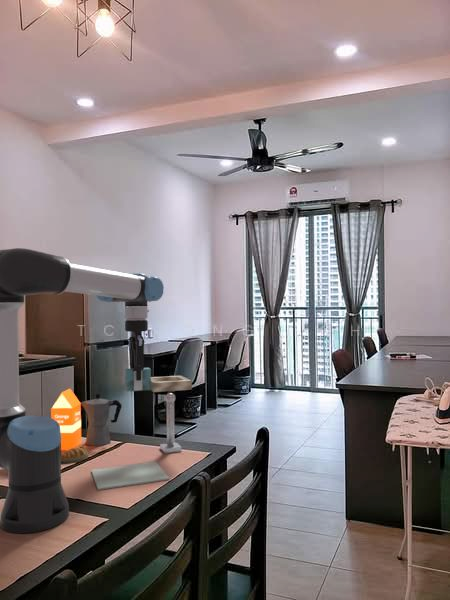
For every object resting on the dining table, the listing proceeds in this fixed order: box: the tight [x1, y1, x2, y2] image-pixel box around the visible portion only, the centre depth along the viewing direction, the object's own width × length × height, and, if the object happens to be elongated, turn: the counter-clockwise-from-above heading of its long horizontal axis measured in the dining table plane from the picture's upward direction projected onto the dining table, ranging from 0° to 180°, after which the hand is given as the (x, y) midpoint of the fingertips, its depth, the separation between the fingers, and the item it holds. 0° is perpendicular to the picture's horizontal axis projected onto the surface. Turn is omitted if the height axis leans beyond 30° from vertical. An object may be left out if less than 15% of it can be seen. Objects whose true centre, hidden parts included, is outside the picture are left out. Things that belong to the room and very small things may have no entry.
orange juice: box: [50, 388, 82, 451], centre depth 174 cm, size 8×9×20 cm
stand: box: [159, 392, 183, 454], centre depth 169 cm, size 6×6×20 cm
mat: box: [90, 461, 170, 491], centre depth 144 cm, size 20×16×1 cm
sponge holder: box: [124, 367, 193, 393], centre depth 166 cm, size 21×13×7 cm, turn 112°
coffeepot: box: [80, 393, 123, 447], centre depth 179 cm, size 15×9×18 cm, turn 86°
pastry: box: [61, 445, 89, 464], centre depth 160 cm, size 9×7×4 cm
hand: (136, 388), depth 164 cm, fingers closed on sponge holder, 4 cm apart
